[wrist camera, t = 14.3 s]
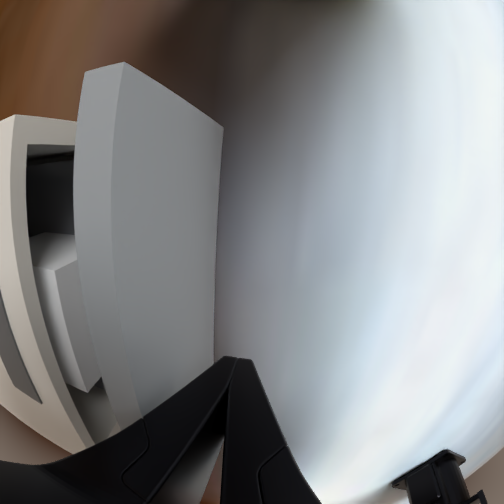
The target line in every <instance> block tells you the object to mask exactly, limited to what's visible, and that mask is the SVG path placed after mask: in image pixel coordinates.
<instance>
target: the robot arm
mask: <svg viewBox="0 0 504 504" xmlns="http://www.w3.org/2000/svg"><path fill="white" fill-rule="evenodd" d="M223 441H224V449H223V464H222V479H221V495H220V504H322V503H321V502H320V500H319V499H318V498H317V496H316V495H315V493H314V492H313V491H312V489H311V487H310V486H309V484H308V483H307V481H306V480H305V478H304V476H303V475H302V473H301V471H300V469H299V467H298V465H297V463H296V461H295V459H294V457H293V455H292V453H291V451H290V448H289V447H288V446H287V442H286V440H285V437H284V435H283V433H282V431H281V428H280V426H279V424H278V421H277V419H276V417H275V414H274V412H273V409H272V407H271V405H270V402H269V400H268V398H267V395H266V393H265V390H264V388H263V385H262V383H261V380H260V378H259V376H258V373H257V371H256V368H255V366H254V363H253V361H252V360H251V359H244V358H236V357H230V356H223V357H222V358H221V359H219V360H218V361H217V362H216V363H214V364H213V365H212V366H210V367H209V368H208V369H207V370H205V371H204V372H203V373H201V374H200V375H199V376H198V377H196V378H195V379H194V380H192V381H191V382H190V383H188V384H187V385H186V386H184V387H183V388H182V389H180V390H179V391H178V392H176V393H175V394H174V395H172V396H171V397H170V398H168V399H167V400H165V401H164V402H163V403H161V404H160V405H159V406H157V407H156V408H154V409H153V410H151V411H150V412H149V413H147V414H146V415H144V416H143V418H140V419H138V420H137V421H135V422H134V423H133V424H131V425H129V426H128V427H126V428H125V429H123V430H121V431H120V432H118V433H117V434H115V435H113V436H111V437H109V438H107V439H105V440H103V441H101V442H99V443H97V444H95V445H93V446H91V447H89V448H86V449H84V450H82V451H80V452H77V453H75V454H73V455H70V456H68V457H66V458H63V459H61V460H58V461H55V462H52V463H47V464H41V465H28V464H20V463H13V462H7V461H1V460H0V504H199V503H200V500H201V498H202V495H203V493H204V490H205V488H206V485H207V483H208V480H209V478H210V475H211V472H212V470H213V467H214V465H215V462H216V459H217V457H218V454H219V451H220V449H221V446H222V443H223ZM465 461H466V459H465V457H463V456H461V455H459V454H457V453H455V452H453V451H451V450H448V449H447V450H445V451H443V452H441V453H440V454H439V455H437V456H436V457H434V458H433V459H431V460H430V461H428V462H427V463H425V464H423V465H422V466H420V467H419V468H417V469H415V470H414V471H412V472H410V473H409V474H407V475H405V476H403V477H402V478H400V479H398V480H396V481H394V482H393V483H392V487H393V488H398V489H404V490H407V494H408V499H409V503H410V504H479V503H481V504H487V500H486V498H485V495H484V492H483V490H480V491H479V492H478V493H477V494H476V495H474V496H472V497H471V498H470V495H469V492H468V489H467V486H466V484H465V481H464V478H463V476H462V473H461V470H460V468H459V466H460V465H461V464H463V463H464V462H465Z"/></svg>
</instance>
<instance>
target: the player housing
mask: <svg viewBox="0 0 504 504" xmlns="http://www.w3.org/2000/svg"><path fill="white" fill-rule="evenodd" d="M76 128H77V122H74V121H67V120H60V119H53V118H45V117H36V116H26V115H13V116H11V117H8V118H6V119H4V120H2V121H0V404H1V405H2V406H4V407H5V408H6V409H7V410H8V411H10V412H11V413H12V414H13V415H15V416H16V417H17V418H19V419H20V420H21V421H22V422H24V423H25V424H27V425H28V426H29V427H31V428H32V429H34V430H35V431H36V432H38V433H39V434H41V435H42V436H44V437H45V438H47V439H49V440H50V441H52V442H53V443H55V444H57V445H58V446H60V447H62V448H63V449H65V450H67V451H69V452H70V453H72V454H75V453H77V452H80V451H82V450H84V449H86V448H89V447H91V446H93V445H95V444H97V443H99V442H101V441H103V440H105V439H107V438H109V437H111V436H113V435H115V434H117V433H118V432H120V431H121V429H120V427H119V425H118V422H117V420H116V417H115V414H114V412H113V409H112V406H111V404H110V401H109V398H108V395H107V392H106V390H104V389H101V388H99V387H96V386H93V387H92V388H91V389H90V391H89V392H88V393H87V392H85V391H82V390H80V389H78V388H76V387H74V386H71V385H69V384H67V383H65V382H64V379H63V377H62V374H61V371H60V369H59V366H58V363H57V361H56V358H55V355H54V352H53V349H52V346H51V343H50V339H49V336H48V333H47V329H46V326H45V322H44V319H43V315H42V311H41V307H40V302H39V298H38V293H37V289H36V284H35V278H34V273H33V267H32V260H31V253H30V245H29V236H28V225H27V210H26V166H32V165H38V164H45V163H53V162H61V161H69V160H74V152H75V139H76Z"/></svg>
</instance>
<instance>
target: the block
mask: <svg viewBox="0 0 504 504" xmlns="http://www.w3.org/2000/svg"><path fill="white" fill-rule="evenodd" d="M29 245H30V253H31V260H32V267H33V273H34V278H35V284H36V289H37V293H38V298H39V302H40V307H41V311H42V315H43V319H44V322H45V326H46V329H47V333H48V336H49V339H50V343H51V346H52V349H53V352H54V355H55V358H56V361H57V363H58V366H59V369H60V371H61V374H62V377H63V379H64V382H65V383H67V384H69V385H71V386H74V387H76V388H78V389H80V390H82V391H85V392H87V393H88V392H89V391H90V389H91V388H92V387H93V386H94V385H95V383H96V382H97V381H98V380H99V379H100V377H101V374H100V370H99V367H98V363H97V360H96V356H95V352H94V349H93V345H92V341H91V336H90V332H89V328H88V323H87V318H86V313H85V308H84V303H83V297H82V291H81V285H80V278H79V270H78V262H77V253H76V242H75V235H69V234H59V233H49V232H44V233H41V234H38V235H36V236H33V237H30V238H29Z"/></svg>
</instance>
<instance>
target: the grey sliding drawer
mask: <svg viewBox="0 0 504 504" xmlns="http://www.w3.org/2000/svg"><path fill="white" fill-rule="evenodd" d="M223 130H224V128H223V127H222V126H221V125H219V124H218V123H217V122H215V121H214V120H213V119H211V118H210V117H208V116H207V115H206V114H204V113H203V112H201V111H200V110H198V109H197V108H196V107H194V106H193V105H191V104H190V103H188V102H187V101H185V100H184V99H183V98H181V97H180V96H178V95H177V94H175V93H174V92H172V91H171V90H169V89H168V88H166V87H164V86H163V85H161V84H160V83H158V82H157V81H155V80H154V79H152V78H150V77H149V76H147V75H146V74H144V73H142V72H141V71H139V70H137V69H136V68H134V67H132V66H131V65H129V64H127V63H126V62H121V63H117V64H113V65H109V66H105V67H101V68H97V69H94V70H90V71H87V72H85V75H84V80H83V86H82V91H81V97H80V104H79V111H78V119H77V128H76V139H75V152H74V160H69V161H61V162H53V163H45V164H38V165H32V166H26V210H27V225H28V236H29V238H30V237H33V236H36V235H38V234H41V233H44V232H49V233H59V234H69V235H75V242H76V253H77V262H78V270H79V278H80V285H81V291H82V297H83V303H84V308H85V313H86V318H87V323H88V328H89V332H90V336H91V341H92V345H93V349H94V352H95V356H96V360H97V363H98V367H99V370H100V374H101V377H100V379H99V380H98V381H97V382H96V383H95V385H94V386H96V387H99V388H101V389H104V390H106V392H107V395H108V398H109V401H110V404H111V406H112V409H113V412H114V414H115V417H116V420H117V422H118V425H119V427H120V429H121V430H123V429H125V428H126V427H128V426H129V425H131V424H133V423H134V422H135V421H137V420H138V419H140V418H143V416H144V415H146V414H147V413H149V412H150V411H151V410H153V409H154V408H156V407H157V406H159V405H160V404H161V403H163V402H164V401H165V400H167V399H168V398H170V397H171V396H172V395H174V394H175V393H176V392H178V391H179V390H180V389H182V388H183V387H184V386H186V385H187V384H188V383H190V382H191V381H192V380H194V379H195V378H196V377H198V376H199V375H200V374H201V373H203V372H204V371H205V370H207V369H208V368H209V367H210V366H212V365H213V364H214V294H215V263H216V238H217V218H218V200H219V183H220V168H221V155H222V142H223Z"/></svg>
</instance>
